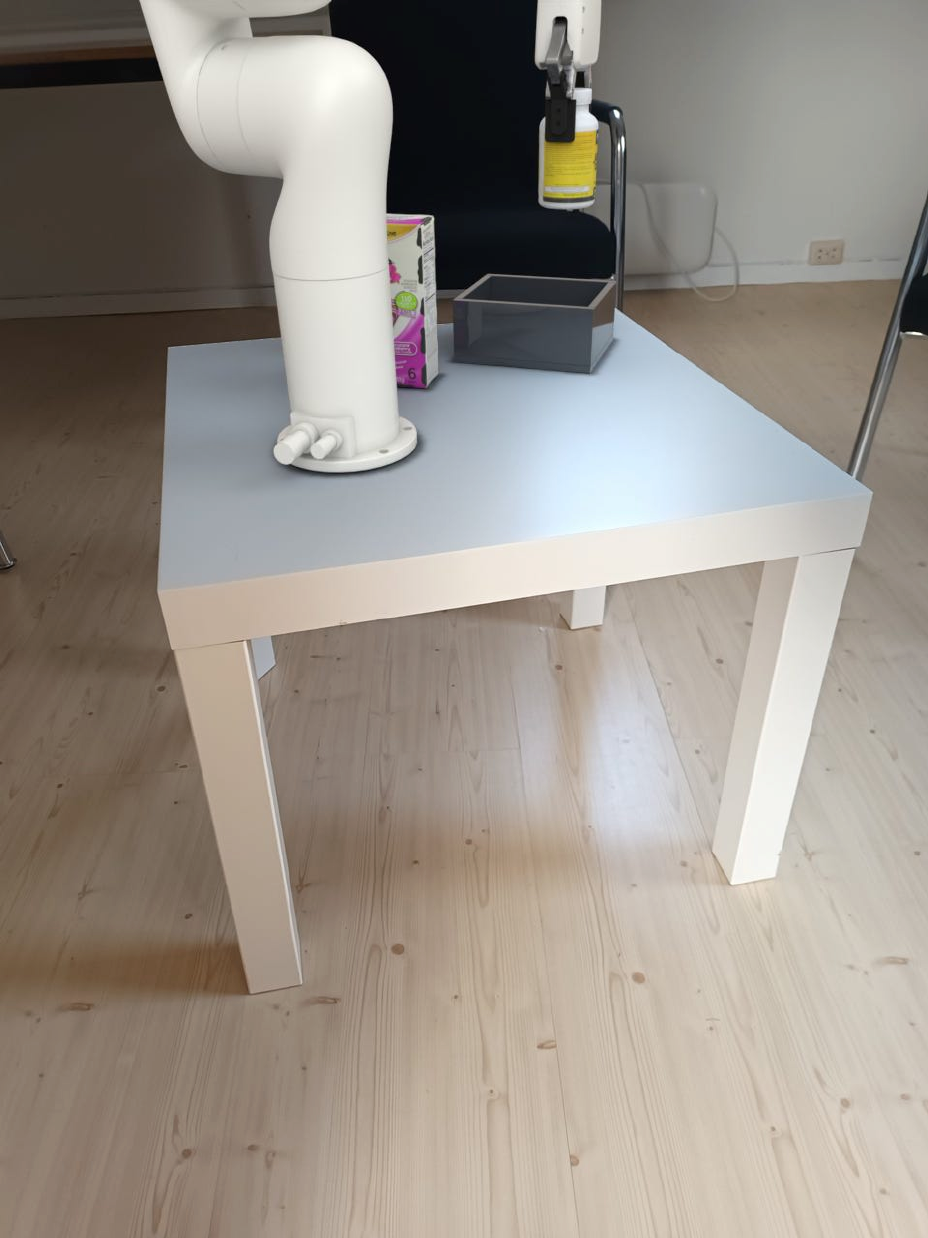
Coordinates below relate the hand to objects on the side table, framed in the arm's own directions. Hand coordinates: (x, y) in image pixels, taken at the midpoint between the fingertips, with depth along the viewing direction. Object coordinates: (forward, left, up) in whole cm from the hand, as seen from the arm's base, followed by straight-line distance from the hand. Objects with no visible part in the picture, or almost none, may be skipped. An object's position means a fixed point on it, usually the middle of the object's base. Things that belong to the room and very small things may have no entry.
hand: (567, 136), depth 102 cm
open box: (-9, +1, -21) cm, 23 cm away
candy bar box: (-23, +14, -21) cm, 34 cm away
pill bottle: (0, 0, -7) cm, 7 cm away
